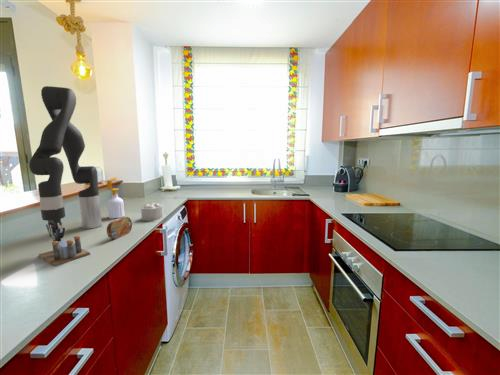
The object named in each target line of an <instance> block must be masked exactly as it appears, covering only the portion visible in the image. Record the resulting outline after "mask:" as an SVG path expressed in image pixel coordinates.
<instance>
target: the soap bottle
mask: <svg viewBox="0 0 500 375" xmlns="http://www.w3.org/2000/svg"><path fill="white" fill-rule="evenodd" d="M117 179H118V178H116V177H112V178H110V179H108V180H107V182H106V185H107V190H109V191H111V192H112V193H111V198H109V199H108V200H107V204H106V205H107V207H106V208H107V213H108V214H107V215H108V219H114V218H116V219H120V218H122V217H126V216H125V215H126V214H125V205H124V200H123V199H122V198H121V197H119V194H118V193H117V192H118V191H119V190H120V188H113V187H112V182H115V181H116V180H117Z"/></svg>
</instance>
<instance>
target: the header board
mask: <svg viewBox="0 0 500 375" xmlns="http://www.w3.org/2000/svg"><path fill="white" fill-rule="evenodd" d="M73 239H74V240H73ZM73 239H66V240H67V246H68V254H69V257H68V258H63V257H62V256H60V252H59V245H58V244H59V242H58V241H54V242H53V241H52V242H51V245H52V250H49V251H45V252H42V253H38V257H40V258H41V259H43V260H45V261H46V262H47V263H49V264H51V265H52V266H55V267H56V266H58V265H62V264H65V263H68V262H71V261H74V260H77V259H80V258H84V257H86V256H90V255H91V252H90V251H88V250H86V249H83V248H82V245H81V244H82V242H81V235H74V237H73ZM73 243H74V244H75V245H76V253H77V255H74V247H73Z"/></svg>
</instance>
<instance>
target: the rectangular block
mask: <svg viewBox="0 0 500 375" xmlns="http://www.w3.org/2000/svg"><path fill="white" fill-rule="evenodd" d="M67 240H68V239H64V240H63V239H62V240H61V241H59V244H58V245H59V252H60V256H62V257H63V258H68V257H69V254H68V246H67ZM73 247H74V255H77V253H76V245H75V242H73Z"/></svg>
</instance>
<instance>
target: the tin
mask: <svg viewBox="0 0 500 375" xmlns="http://www.w3.org/2000/svg"><path fill="white" fill-rule="evenodd" d="M106 226H107V227H106V234H107V236H108V238H110V239H116V240H117V239H119V238H122V237H124V236H125V235H127V234H129V233H130V232H131V230H132V227H133V222H132V219H131V218H130V217H128V216H124V217H121V218H116V219H115V220H113V221H110V222H109V223H108V224H107V225H106Z"/></svg>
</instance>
